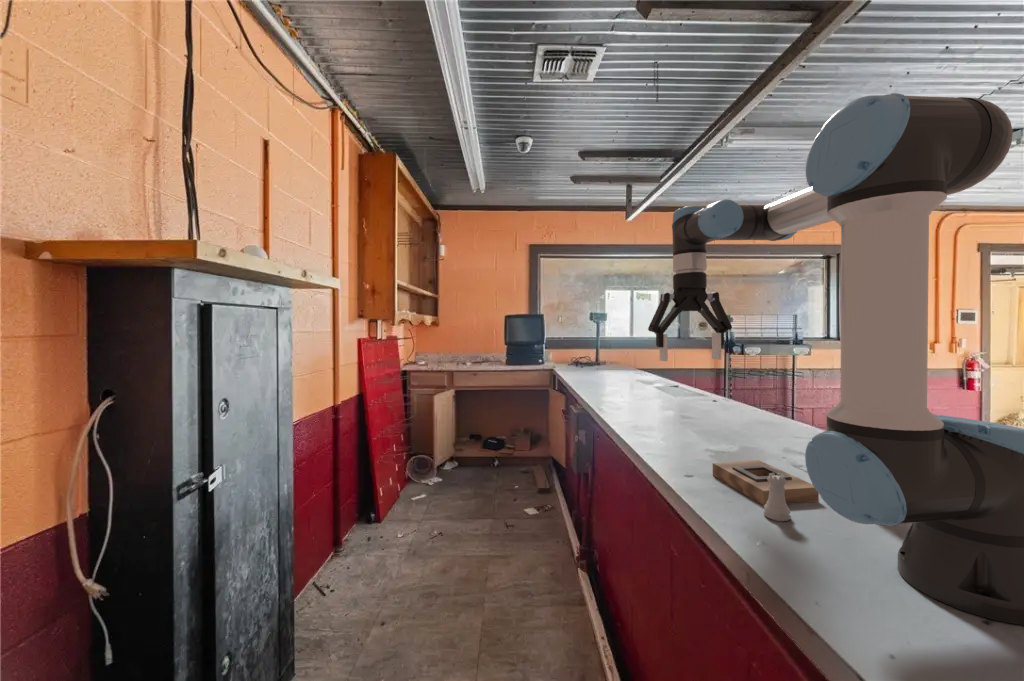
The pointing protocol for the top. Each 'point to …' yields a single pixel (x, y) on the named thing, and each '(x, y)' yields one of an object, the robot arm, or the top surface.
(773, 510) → the rook chess piece
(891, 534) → the top surface
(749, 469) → the socket board
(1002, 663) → the top surface
